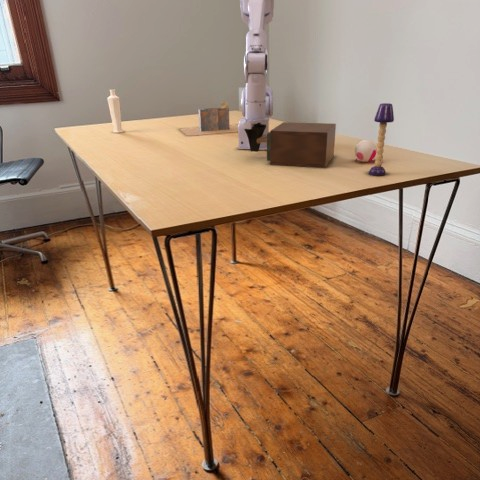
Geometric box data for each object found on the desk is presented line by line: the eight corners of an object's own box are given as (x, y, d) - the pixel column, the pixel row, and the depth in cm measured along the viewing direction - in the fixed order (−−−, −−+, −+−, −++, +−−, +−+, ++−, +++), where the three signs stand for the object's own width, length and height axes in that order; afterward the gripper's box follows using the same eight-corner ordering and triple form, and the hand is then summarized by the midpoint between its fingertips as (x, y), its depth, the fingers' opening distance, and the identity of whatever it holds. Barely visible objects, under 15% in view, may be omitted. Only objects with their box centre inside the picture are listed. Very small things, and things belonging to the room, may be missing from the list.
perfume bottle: (127, 131, 190) (121, 89, 182) (119, 133, 186) (112, 90, 179) (118, 130, 192) (112, 88, 184) (110, 132, 189) (104, 89, 181)
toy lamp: (366, 171, 128) (374, 102, 119) (384, 171, 128) (393, 102, 119) (370, 175, 124) (378, 105, 115) (388, 175, 123) (398, 104, 115)
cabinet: (270, 164, 137) (270, 130, 132) (282, 153, 148) (283, 122, 144) (325, 167, 132) (327, 132, 128) (333, 156, 144) (335, 123, 139)
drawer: (252, 160, 138) (252, 133, 134) (265, 150, 149) (265, 125, 145) (317, 163, 133) (319, 135, 129) (325, 153, 144) (327, 127, 140)
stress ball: (368, 176, 136) (384, 157, 131) (346, 158, 135) (361, 138, 131) (372, 169, 142) (388, 150, 137) (351, 151, 141) (366, 132, 137)
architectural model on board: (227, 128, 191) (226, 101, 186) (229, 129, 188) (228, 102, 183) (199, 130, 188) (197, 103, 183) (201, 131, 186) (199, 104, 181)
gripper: (261, 105, 129) (260, 157, 136) (276, 98, 141) (274, 146, 148) (236, 103, 131) (237, 155, 138) (253, 97, 143) (252, 145, 150)
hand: (254, 150), depth 143 cm, fingers closed, pressing on drawer
